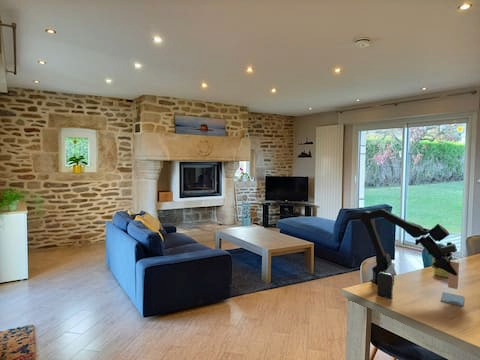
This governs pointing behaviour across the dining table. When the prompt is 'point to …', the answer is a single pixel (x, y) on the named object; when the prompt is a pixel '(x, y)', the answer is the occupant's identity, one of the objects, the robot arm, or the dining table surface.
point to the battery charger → (385, 284)
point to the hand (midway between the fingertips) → (457, 274)
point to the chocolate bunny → (440, 271)
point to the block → (452, 278)
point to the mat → (452, 299)
